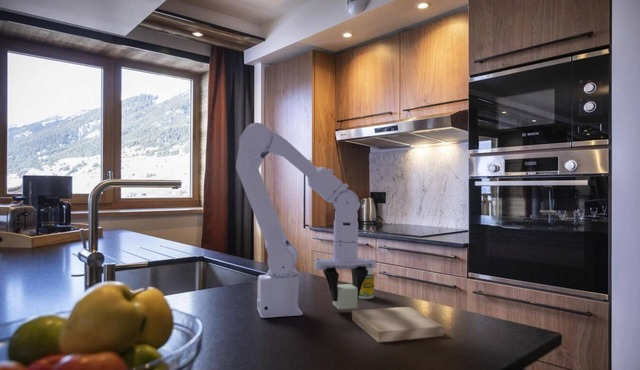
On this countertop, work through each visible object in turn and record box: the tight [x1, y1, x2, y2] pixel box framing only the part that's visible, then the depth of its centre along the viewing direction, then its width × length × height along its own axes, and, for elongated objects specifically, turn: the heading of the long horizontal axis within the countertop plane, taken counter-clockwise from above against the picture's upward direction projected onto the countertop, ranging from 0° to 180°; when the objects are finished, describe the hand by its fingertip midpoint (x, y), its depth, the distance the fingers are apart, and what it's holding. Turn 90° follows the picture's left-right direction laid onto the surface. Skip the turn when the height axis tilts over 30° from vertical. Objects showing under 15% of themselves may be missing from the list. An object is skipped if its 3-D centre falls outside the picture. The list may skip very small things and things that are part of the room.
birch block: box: [351, 306, 445, 343], centre depth 87 cm, size 14×14×2 cm
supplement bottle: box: [358, 268, 375, 300], centre depth 111 cm, size 5×5×10 cm
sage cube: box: [332, 283, 358, 310], centre depth 96 cm, size 4×4×4 cm
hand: (344, 299), depth 96 cm, fingers closed on sage cube, 4 cm apart
